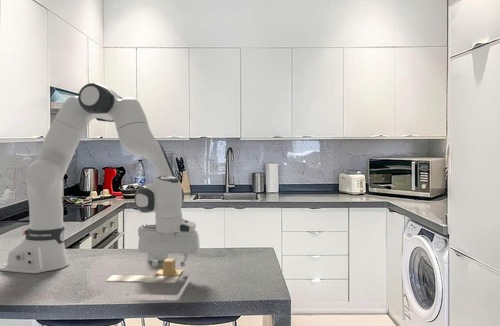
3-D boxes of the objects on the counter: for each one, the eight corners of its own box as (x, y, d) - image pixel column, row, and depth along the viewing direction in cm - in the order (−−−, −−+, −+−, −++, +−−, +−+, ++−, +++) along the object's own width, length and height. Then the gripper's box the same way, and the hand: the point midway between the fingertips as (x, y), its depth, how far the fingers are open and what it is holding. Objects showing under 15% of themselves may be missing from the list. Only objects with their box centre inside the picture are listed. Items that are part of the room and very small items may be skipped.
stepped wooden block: (155, 276, 152) (155, 262, 152) (159, 271, 158) (159, 257, 158) (179, 276, 152) (179, 262, 152) (182, 271, 157) (182, 258, 157)
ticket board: (102, 285, 146) (102, 280, 146) (116, 273, 159) (116, 269, 159) (177, 287, 145) (177, 282, 145) (185, 275, 158) (185, 270, 158)
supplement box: (147, 265, 170) (147, 230, 170) (146, 259, 177) (146, 227, 177) (168, 263, 172) (167, 230, 172) (166, 258, 179) (166, 226, 179)
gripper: (135, 226, 151) (135, 268, 152) (197, 227, 150) (197, 269, 151) (140, 222, 158) (141, 262, 158) (200, 223, 157) (200, 263, 157)
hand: (169, 266), depth 155 cm, fingers open, 8 cm apart
